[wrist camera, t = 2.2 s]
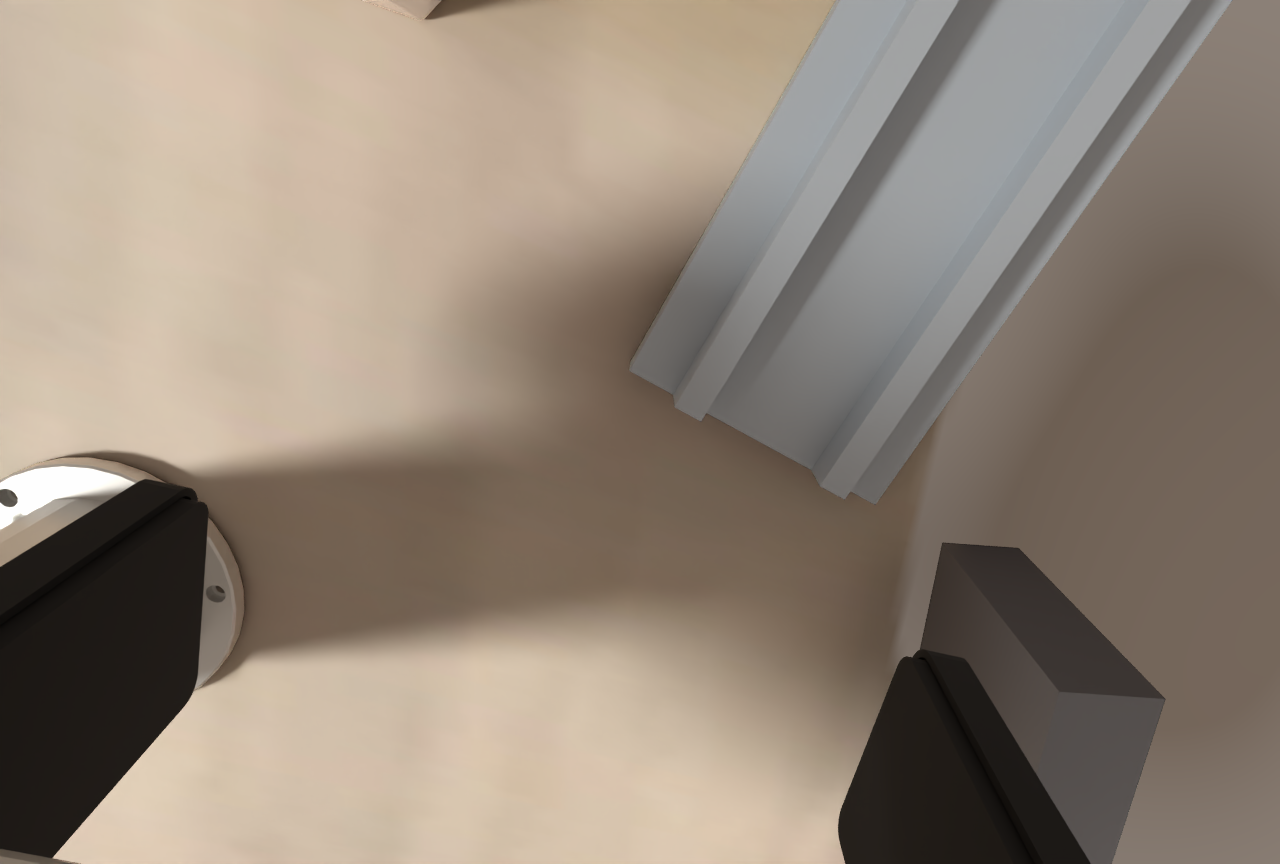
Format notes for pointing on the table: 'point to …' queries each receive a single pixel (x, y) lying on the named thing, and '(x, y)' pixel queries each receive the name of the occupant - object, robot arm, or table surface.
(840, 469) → the picture ledge
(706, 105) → the table surface
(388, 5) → the jar
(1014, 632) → the picture frame
